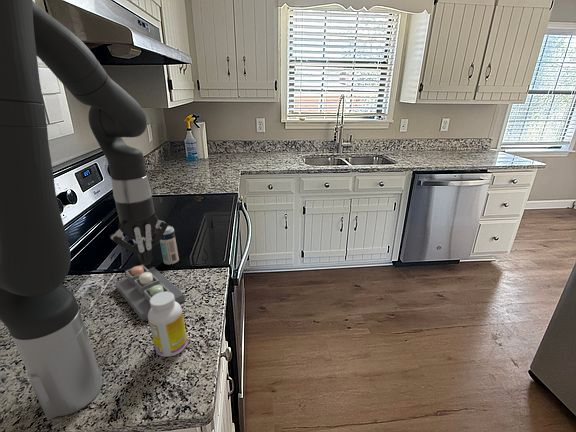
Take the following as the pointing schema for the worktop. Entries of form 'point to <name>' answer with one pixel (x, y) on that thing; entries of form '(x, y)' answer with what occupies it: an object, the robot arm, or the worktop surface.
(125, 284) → the grey boxy piece
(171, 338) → the supplement bottle
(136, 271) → the terracotta button
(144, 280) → the cream button
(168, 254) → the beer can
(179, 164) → the worktop surface
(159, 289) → the sage button
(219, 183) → the worktop surface
